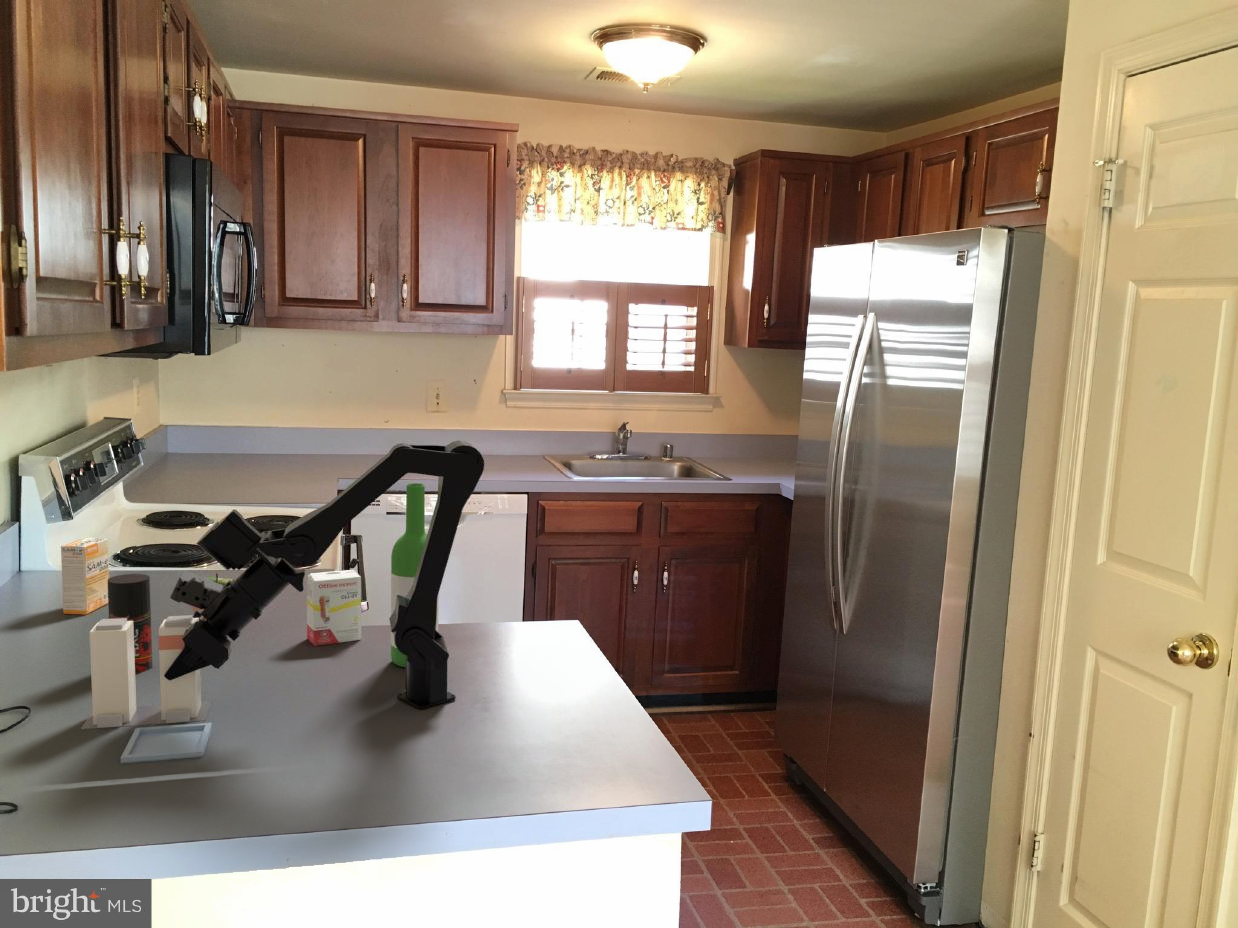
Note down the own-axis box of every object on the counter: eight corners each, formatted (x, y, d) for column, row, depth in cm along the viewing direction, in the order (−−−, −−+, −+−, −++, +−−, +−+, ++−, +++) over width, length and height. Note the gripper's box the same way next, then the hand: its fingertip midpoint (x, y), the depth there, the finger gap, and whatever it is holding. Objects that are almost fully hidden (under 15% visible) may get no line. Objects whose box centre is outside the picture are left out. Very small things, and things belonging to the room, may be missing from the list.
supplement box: (87, 615, 182) (85, 546, 180) (62, 614, 182) (59, 545, 180) (111, 603, 190) (109, 537, 188) (87, 602, 190) (84, 536, 188)
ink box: (312, 646, 169) (312, 580, 167) (306, 638, 173) (305, 573, 171) (362, 640, 173) (362, 575, 171) (354, 632, 177) (354, 569, 176)
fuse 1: (136, 709, 138) (133, 616, 136) (129, 721, 133) (126, 625, 132) (101, 711, 137) (97, 617, 135) (93, 724, 132) (89, 627, 130)
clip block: (211, 704, 142) (211, 691, 141) (205, 723, 135) (204, 709, 135) (93, 712, 138) (93, 698, 137) (80, 732, 131) (80, 718, 130)
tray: (211, 730, 133) (211, 722, 133) (202, 760, 124) (202, 751, 124) (136, 736, 130) (135, 727, 130) (120, 766, 121) (120, 757, 121)
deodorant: (142, 661, 158) (139, 571, 156) (159, 670, 155) (156, 578, 153) (104, 670, 154) (100, 578, 152) (121, 680, 150) (117, 585, 148)
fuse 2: (201, 705, 140) (199, 613, 138) (196, 717, 136) (194, 623, 134) (166, 707, 139) (164, 615, 137) (161, 719, 135) (158, 624, 133)
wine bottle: (427, 671, 158) (428, 489, 154) (382, 667, 160) (382, 486, 156) (445, 656, 166) (447, 482, 162) (402, 652, 167) (403, 479, 163)
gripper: (216, 539, 144) (137, 614, 143) (198, 569, 126) (107, 656, 125) (273, 588, 147) (196, 663, 146) (263, 625, 130) (176, 710, 128)
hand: (169, 671), depth 136 cm, fingers open, 5 cm apart
